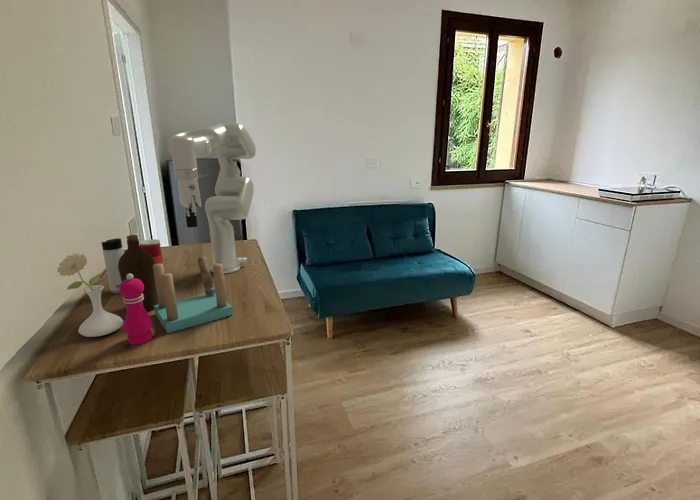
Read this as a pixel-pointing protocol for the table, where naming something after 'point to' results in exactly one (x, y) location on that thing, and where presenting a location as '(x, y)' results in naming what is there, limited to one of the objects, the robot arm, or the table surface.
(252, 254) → the table surface
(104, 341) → the table surface
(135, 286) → the pepper mill
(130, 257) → the olive oil
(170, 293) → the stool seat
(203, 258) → the hinged leg
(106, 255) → the travel mug
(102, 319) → the flower in vase
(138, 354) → the table surface
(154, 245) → the canned food
